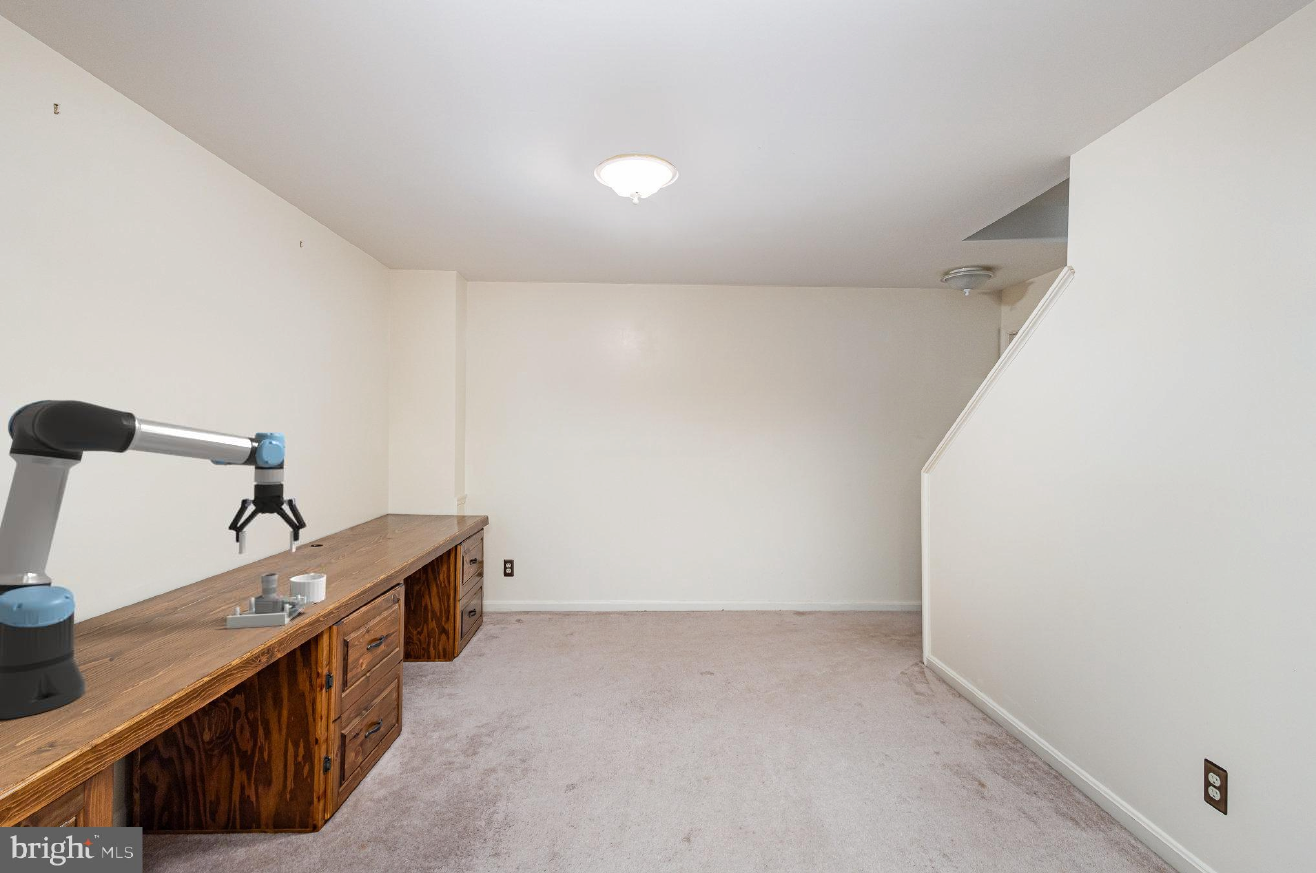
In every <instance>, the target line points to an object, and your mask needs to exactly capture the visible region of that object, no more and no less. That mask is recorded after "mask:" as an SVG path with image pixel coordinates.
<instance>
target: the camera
mask: <svg viewBox="0 0 1316 873" xmlns="http://www.w3.org/2000/svg"><path fill="white" fill-rule="evenodd" d="M278 577H279V575H278V573H277V572H267V573H263V574H261V576H260V583H261V584H262V585H261V594H260V595H258V596H255V597H254V599H255V614H273V613H284V605H285V604H289V605H292V607H290V608H289V613H292V612H296V611H299V610H301V609H303V608H304V609H305V608H306V607H309V606H312V605H311V604H313V603H315V602H314V601H311V602H307V603H303V604H299V603H300V600H295V599H290V595H288V594H277V583H278V579H279V578H278ZM298 604H299V605H298ZM304 609H303V610H304Z"/></svg>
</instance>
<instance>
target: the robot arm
mask: <svg viewBox="0 0 1316 873" xmlns="http://www.w3.org/2000/svg"><path fill="white" fill-rule="evenodd" d="M7 432H8V434H9V436H10V438H11V440H12V442H11V445H10V449H9V453H8V456H9V457H10V458H11V459H13V461H15V463H16V465H15V469H14V473H13V476H12V481H11V485H10V487H9V488H10V489H9V493H8V497H7V500H6V503H5V507H4V510H3V515H2V519H1V523H0V720H8V719H16V718H17V719H18V718H23V717H28V716H33V715H37V714H40V713H44V712H47V711H52V710H55V709H57V708H61V707H63V706H66V705H67V704H70V703H72V702H75V701H76V700H78V699H80V698H82V696H84V695H85V693H86V680H85V679H84V677H83V674H82V672H81V670H80V668H79V666H78V664H77V662H76V659H75V610H76V603H75V600H74V598H75V597H74V594H73V592H72V591H71V590H70V589H68V588H66V587H63V586H57V585H53V586H52V582H53V579H52V578H51V577H49V575H48V574H46V572H45V571H46V568H47V564H48V561H49V556H50V551H51V548H52V544H53V539H54V535H55V530H56V527H57V522H58V519H59V514H60V510H61V506H62V503H63V500H64V499H63V498H64V495H65V490H66V486H67V483H68V482H67V481H68V478H69V475H70V469H72V468H73V467H74V466H77V465H79V464H80V463H81V462H82V460H83V454H84V452H107V453H108V452H110V453H118V454H123V453H126V452H127V451H136V452H144V453H154V454H161V455H168V456H176V457H177V456H178V457H184V458H185V457H186V458H192V459H193V458H194V459H200V460H208V461H209V460H210V462H211V463H212V464H213V465H216V466H249V467H251V466H252V467H253V466H254V478H253V479H254V480H253V482H254V483H255V484H254V487H253V499H250V498H243V499H242V500H241V504H240V507H239V508H238V511H237V512H236V514H235V516H234V517H233V519H232V520H231V522H230V524H229V526H228V528H227V529H228V530H229V531H234V532H235V543H238V554H239V555H242V554H245V553H246V552H247V551H246V550H247V549H246V548H247V546H246V545H247V544H246V543H247V531H246V530H244V529H245V528H246V527H247V526H248V525H249V524H250V523H251V522H252V521H253V520H255V518H256V517H258V515H259V514H261V515H264V514H270V515H271V514H273V515H274V514H276V515H278V516H279V517H280V518H281V519H282V520H283V521H284V523H286V525H287V526H289V527H290V529H292V530H291V531H290V532H289V554H293V553H294V552H296V543H297V541H299V540H300V530H302V529H304V528H307V524H306V522H305V519H304V518H303V516H302V514H301V512H300V510H299V509H298V507H297V504H296V498H293V497H292V498H289V499H284V490H285V488H284V486H285V485H284V484H283V482H284V477H285V467H284V466H285V455H286V450H285V449H286V446H285V445H286V444H285V436H284V434H283V433H281V432H257V433H255V435H254V437H247V436H245V435H244V436H243V435H237V434H233V433H225V432H220V431H214V430H209V429H202V428H196V427H193V426H192V427H191V426H185V425H180V424H173V423H167V422H161V421H155V420H149V419H145V418H144V419H143V418H138V417H137V416H136V414H135V413H133V412H128V411H122V410H117V409H113V408H109V407H105V406H100V405H97V404H94V403H90V402H86V401H81V400H75V399H70V400H69V399H65V400H64V399H63V400H62V399H59V400H58V399H56V400H55V399H53V400H52V399H46V400H45V399H44V400H42V399H41V400H38V401H33V402H30V403H28V404H25V405H23V406H21V407H20V408H18V409H17V410H16V411H14V413H12V415H11V417H10V418H9V420H8V424H7ZM251 505H253V507H254V509H253V510H252V511H251V513H249V515H248V516H246V518H245V519H243V517H244V516H245V514H246V512H247V510H248V508H249V507H250V506H251ZM284 505H285V506H287V507H288V509H289V511H290V513H291V515H292V516H293V518H294V519H293V518H292V517H291V516H290V515H289V514H288V513H287V512H286V509H284V508H283V506H284ZM242 519H243V521H242ZM241 521H242V522H241Z"/></svg>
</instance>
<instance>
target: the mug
mask: <svg viewBox="0 0 1316 873" xmlns="http://www.w3.org/2000/svg"><path fill="white" fill-rule="evenodd" d="M326 582H327V575H326V574H323V573H314V572H310V573H308V574H302V575H300V574H299V575H297V576H292V577H290V579H289V592H290V594H289V598H290V597H296V595H300V597H306V603H307V602H311V601H314V602H315V603H316V602H320V601H322V600H324V599H325V600H326V588H327V586H326V585H327V583H326ZM325 600H324V601H325ZM313 604H314V603H313ZM314 605H315V604H314Z"/></svg>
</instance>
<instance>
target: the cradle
mask: <svg viewBox="0 0 1316 873" xmlns="http://www.w3.org/2000/svg"><path fill="white" fill-rule="evenodd" d="M289 598H290V599H295V600H300V603H299V604H303V603H306V597H300V595H296V597H290V596H289ZM299 604H298V605H299ZM290 607H292V605H289V604H285V605H284V613H273V614H255V597H253V596H250V597H249V598H248V610H247V611H245V612H244V613H242V614H240V606H234V609H233V610H234V612H233V614H234V615H227V616H226V629H227V630H229V629H245V628H262V627H263V628H264V627H279V625H282V626H286V625H287V624H288V623H289V622H291V621H292V620H293V619H294V618H295V617H297V615H299V614H300V613H301V612H302V611H303V610H302V609H301V610H302V611H301V610H299V611H296V612H292V613H289V608H290ZM300 611H301V612H300ZM299 612H300V613H299ZM298 613H299V614H298ZM293 617H294V618H293ZM292 618H293V619H292ZM291 619H292V620H291ZM290 620H291V621H290ZM285 624H286V625H285Z"/></svg>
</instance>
